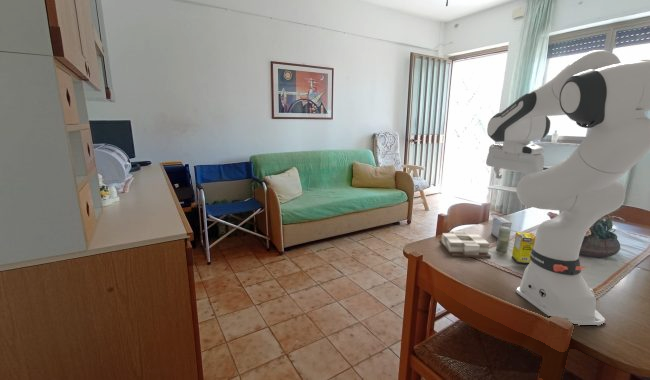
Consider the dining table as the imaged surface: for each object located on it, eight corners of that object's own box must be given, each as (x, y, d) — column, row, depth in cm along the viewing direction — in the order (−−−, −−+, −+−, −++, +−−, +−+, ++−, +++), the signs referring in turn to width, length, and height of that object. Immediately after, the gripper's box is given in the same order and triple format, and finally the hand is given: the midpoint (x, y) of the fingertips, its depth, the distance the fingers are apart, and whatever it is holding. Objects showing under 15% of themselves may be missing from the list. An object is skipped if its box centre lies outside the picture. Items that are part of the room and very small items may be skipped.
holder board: (491, 257, 120) (492, 246, 119) (452, 256, 120) (453, 245, 119) (473, 241, 135) (475, 231, 134) (439, 241, 136) (440, 230, 135)
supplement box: (534, 265, 114) (539, 238, 111) (517, 263, 115) (522, 237, 113) (527, 258, 120) (532, 233, 117) (511, 257, 121) (515, 231, 118)
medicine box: (509, 240, 138) (512, 222, 136) (499, 240, 138) (502, 222, 136) (500, 233, 145) (502, 217, 143) (490, 233, 145) (493, 216, 143)
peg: (508, 252, 125) (512, 229, 123) (499, 251, 125) (502, 229, 123) (503, 248, 129) (507, 226, 127) (494, 247, 129) (497, 226, 127)
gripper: (485, 143, 121) (480, 176, 126) (539, 150, 104) (532, 188, 108) (494, 142, 124) (490, 174, 128) (549, 149, 107) (541, 185, 111)
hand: (510, 180), depth 118 cm, fingers open, 8 cm apart
